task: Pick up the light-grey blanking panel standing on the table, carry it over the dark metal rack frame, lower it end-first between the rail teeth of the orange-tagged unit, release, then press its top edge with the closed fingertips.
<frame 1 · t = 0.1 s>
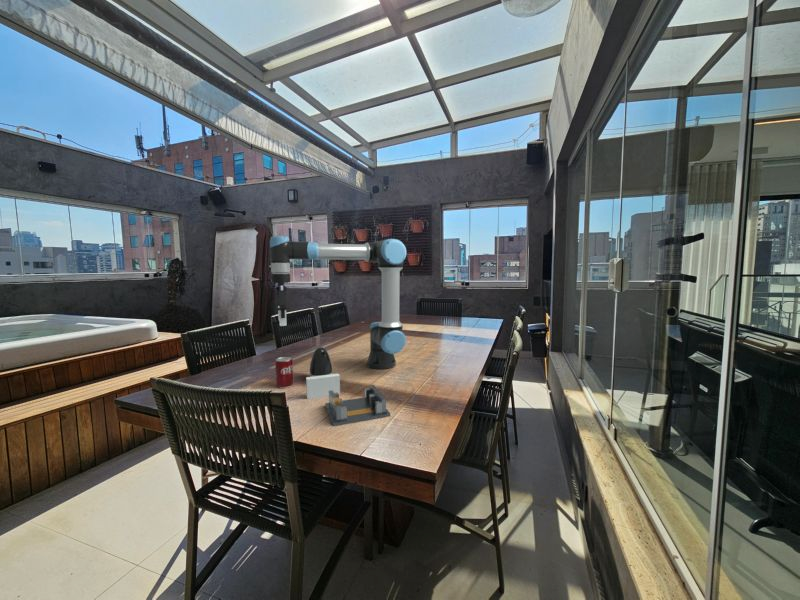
hand: (282, 323, 144), 28 cm above the table, fingers open, 13 cm apart
soda can: (285, 386, 147), on the table
rack: (356, 410, 123), on the table
dark grey egg shape: (321, 379, 155), on the table
panel: (323, 395, 137), on the table
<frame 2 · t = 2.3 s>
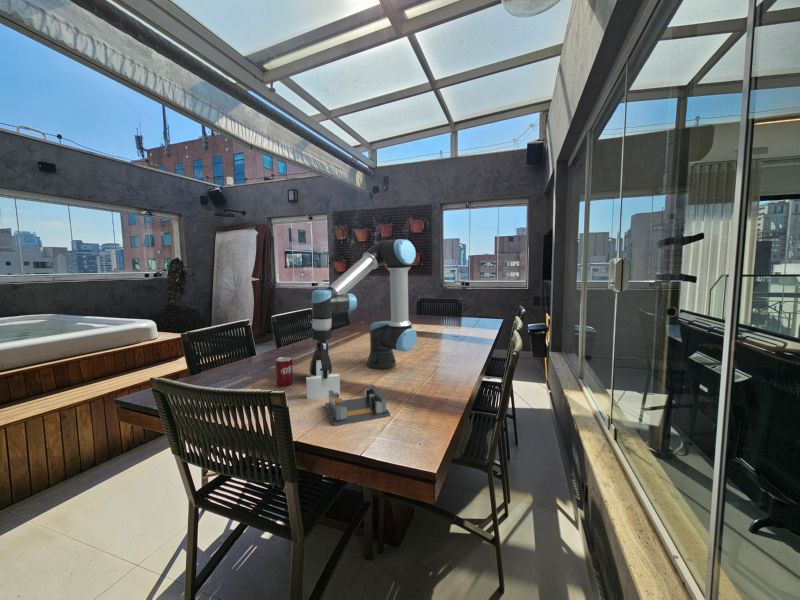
hand: (322, 380, 136), 6 cm above the table, fingers open, 13 cm apart
nothing on the table moved.
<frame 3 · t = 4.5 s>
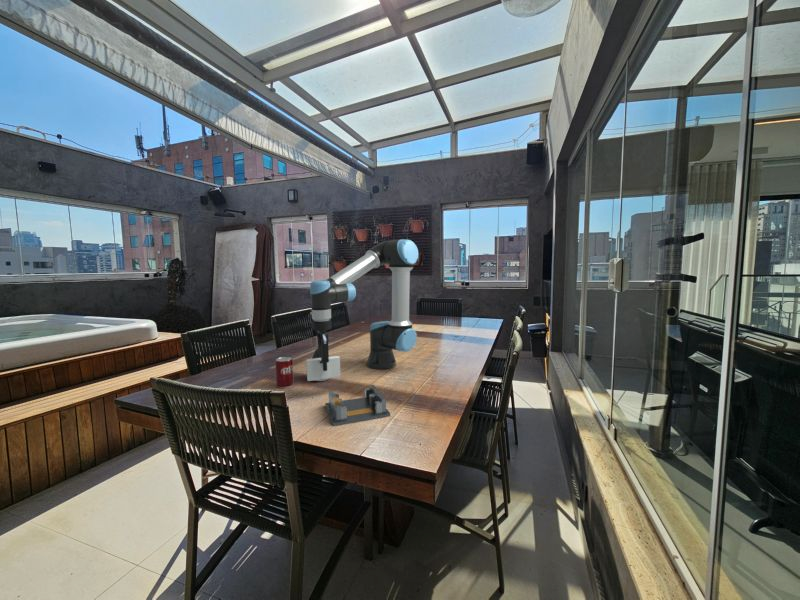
hand: (324, 376, 136), 8 cm above the table, fingers closed on panel, 3 cm apart
panel: (324, 377, 136), point 7 cm above the table, touching gripper
everything else where it was.
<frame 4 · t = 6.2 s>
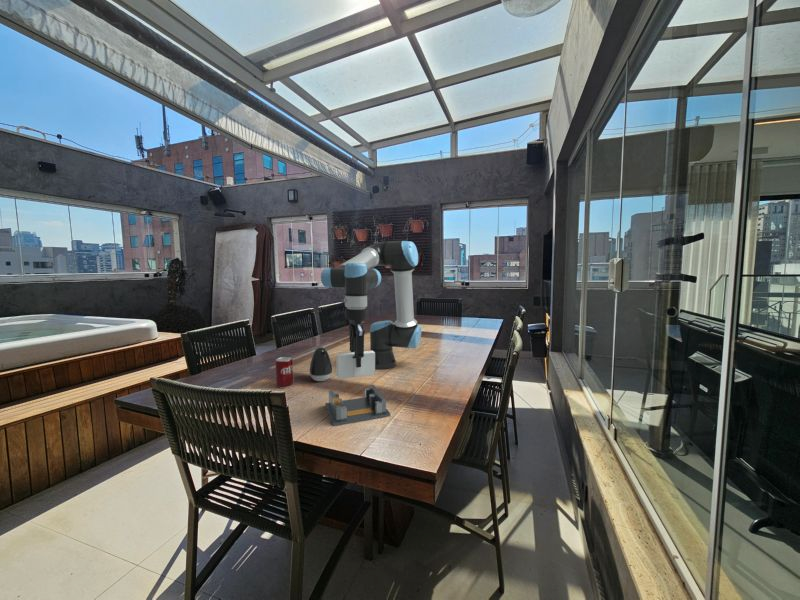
hand: (356, 373, 118), 15 cm above the table, fingers closed on panel, 3 cm apart
panel: (356, 375, 118), point 14 cm above the table, touching gripper
everything else where it was.
when the fingers open (2 cm above the table, at t = 8.1 s): panel stays where it is, resting on rack.
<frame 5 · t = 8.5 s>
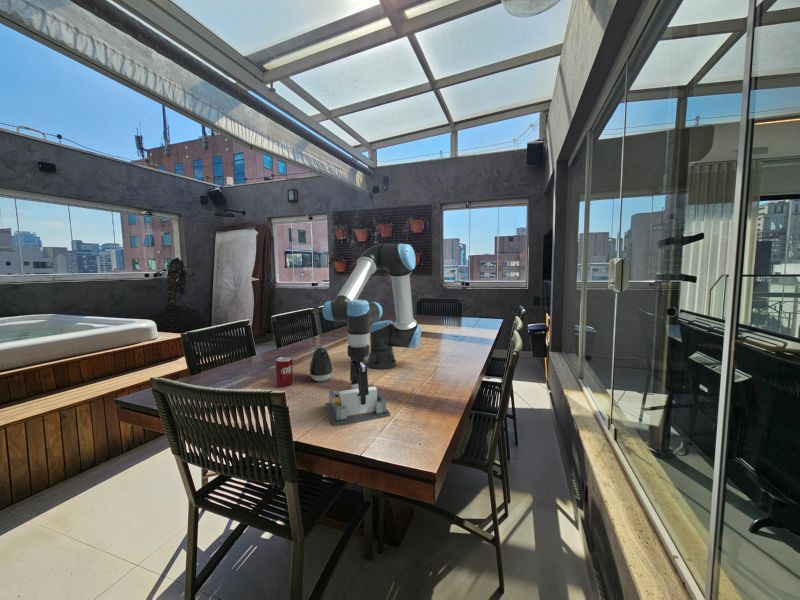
hand: (359, 406, 119), 3 cm above the table, fingers open, 9 cm apart
panel: (358, 411, 119), point 1 cm above the table, touching rack
everything else where it was.
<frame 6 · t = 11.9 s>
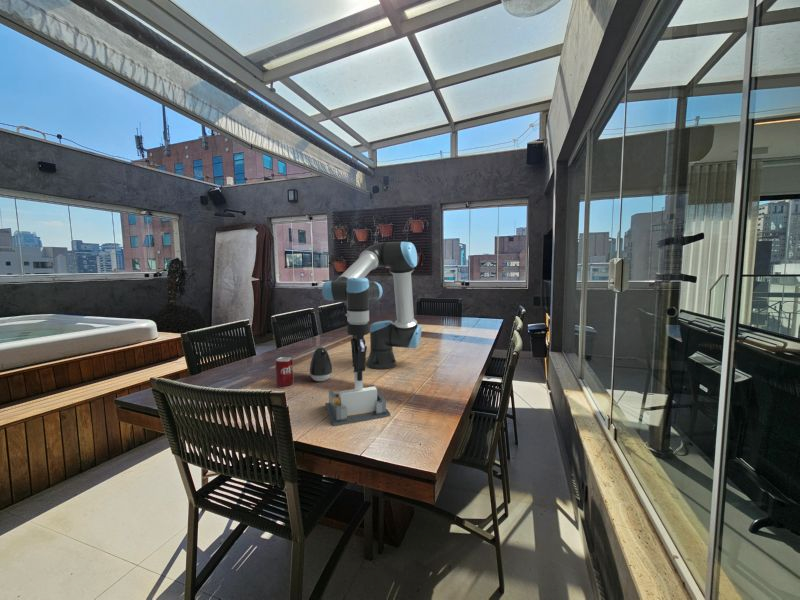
hand: (358, 388, 118), 10 cm above the table, fingers closed
nothing on the table moved.
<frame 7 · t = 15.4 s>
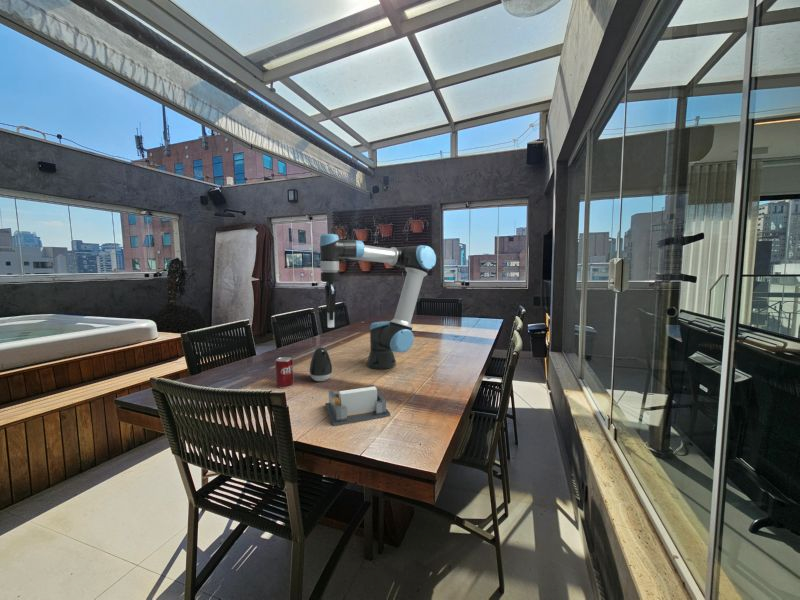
hand: (331, 327, 143), 26 cm above the table, fingers closed
nothing on the table moved.
at the end: panel 0.2 cm from the target spot on the rack, point 1.1 cm above the rack's base; panel tilted 0°; the gripper is holding nothing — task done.
